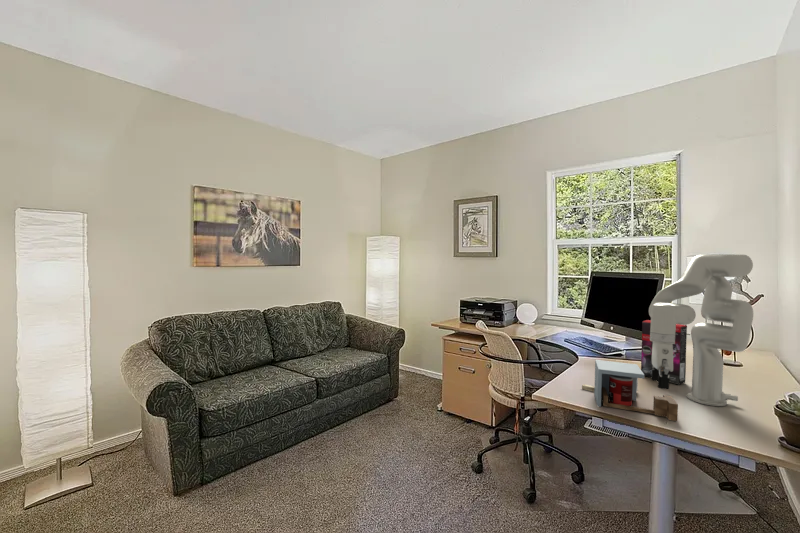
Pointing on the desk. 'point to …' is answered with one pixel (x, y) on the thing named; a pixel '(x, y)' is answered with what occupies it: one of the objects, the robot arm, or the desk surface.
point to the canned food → (620, 390)
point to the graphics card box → (678, 353)
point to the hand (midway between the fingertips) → (659, 384)
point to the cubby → (614, 368)
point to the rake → (660, 408)
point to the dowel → (588, 387)
